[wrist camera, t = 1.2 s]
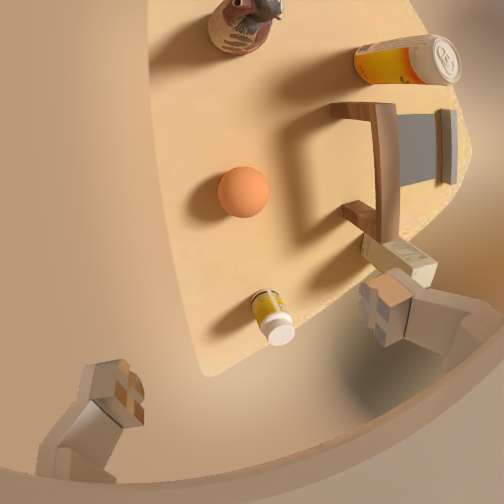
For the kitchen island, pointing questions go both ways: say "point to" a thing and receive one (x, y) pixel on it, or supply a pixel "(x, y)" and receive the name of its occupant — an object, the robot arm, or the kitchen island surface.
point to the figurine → (242, 24)
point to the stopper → (449, 146)
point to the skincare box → (399, 258)
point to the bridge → (377, 170)
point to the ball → (243, 192)
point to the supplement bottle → (272, 317)
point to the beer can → (409, 61)
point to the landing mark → (417, 148)
